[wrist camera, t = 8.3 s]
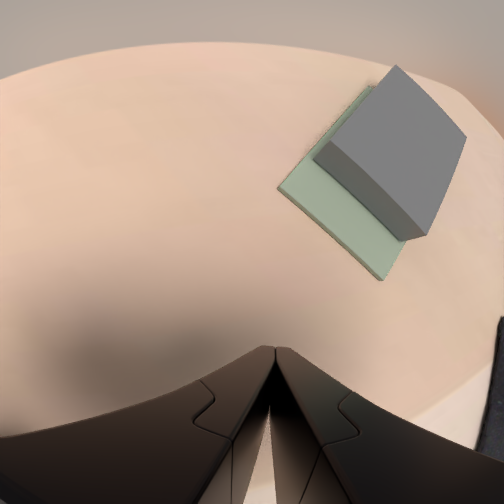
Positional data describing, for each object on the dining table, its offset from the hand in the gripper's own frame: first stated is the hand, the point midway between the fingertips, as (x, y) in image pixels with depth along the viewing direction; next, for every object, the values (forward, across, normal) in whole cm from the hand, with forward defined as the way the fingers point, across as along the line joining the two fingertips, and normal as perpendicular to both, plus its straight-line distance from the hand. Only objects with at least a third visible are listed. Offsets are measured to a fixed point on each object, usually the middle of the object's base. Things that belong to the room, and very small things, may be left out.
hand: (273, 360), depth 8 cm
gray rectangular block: (+13, +6, +4) cm, 15 cm away
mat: (+17, +7, +6) cm, 19 cm away
